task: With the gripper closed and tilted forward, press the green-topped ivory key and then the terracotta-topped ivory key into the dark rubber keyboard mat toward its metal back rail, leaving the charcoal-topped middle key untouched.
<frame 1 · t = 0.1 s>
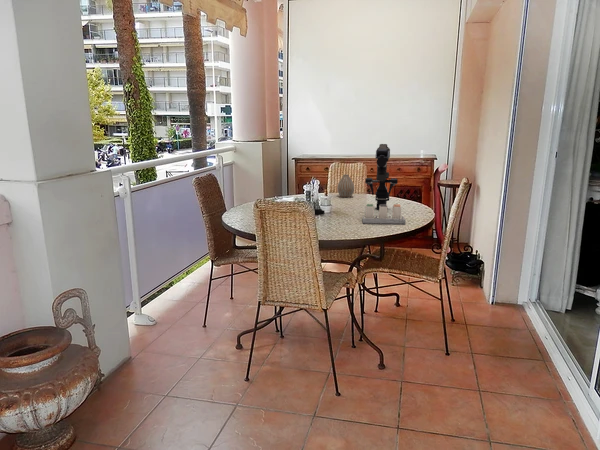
hand: (380, 195, 259), 15 cm above the table, tool pointing down, fingers open, 9 cm apart
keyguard: (383, 219, 259), on the key mat, point 1 cm above the table
toy: (299, 215, 283), on the table
key O: (396, 212, 260), point 6 cm above the table, slide at 0.0 cm
key G: (369, 211, 262), point 6 cm above the table, slide at 0.0 cm
vase: (345, 197, 343), on the table
key X: (383, 212, 261), point 6 cm above the table, slide at 0.0 cm
key mat: (383, 221, 261), on the table
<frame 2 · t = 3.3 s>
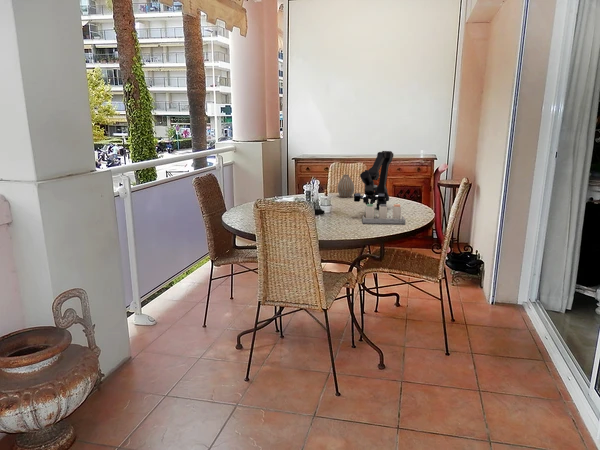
hand: (369, 209, 264), 7 cm above the table, tool tilted 45°, fingers closed, pressing on key G
key G: (369, 212, 262), point 6 cm above the table, slide at 0.3 cm, touching gripper
everything else where it was.
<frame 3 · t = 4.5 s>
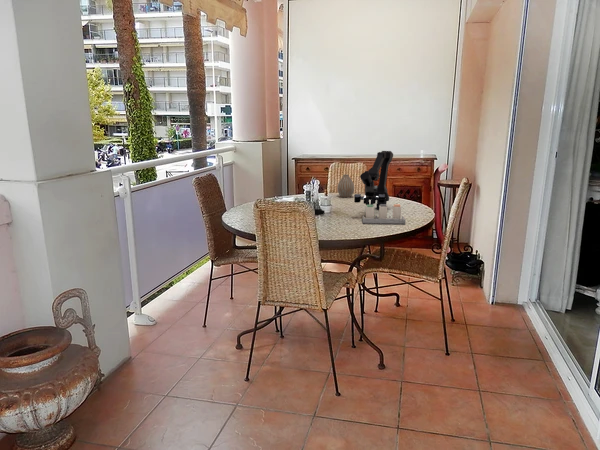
hand: (369, 209, 264), 6 cm above the table, tool tilted 45°, fingers closed
key G: (369, 212, 260), point 6 cm above the table, slide at 2.2 cm
everything else where it was.
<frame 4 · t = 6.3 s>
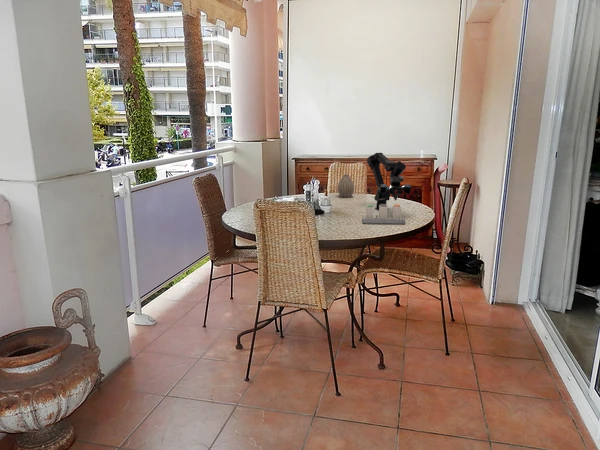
hand: (395, 199, 266), 12 cm above the table, tool tilted 45°, fingers closed
nothing on the table moved.
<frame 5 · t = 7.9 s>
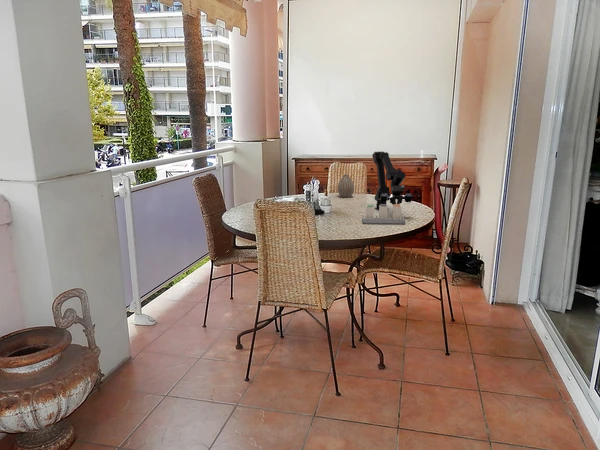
hand: (396, 209, 262), 7 cm above the table, tool tilted 45°, fingers closed, pressing on key O
key O: (396, 212, 260), point 6 cm above the table, slide at 0.2 cm, touching gripper
everything else where it was.
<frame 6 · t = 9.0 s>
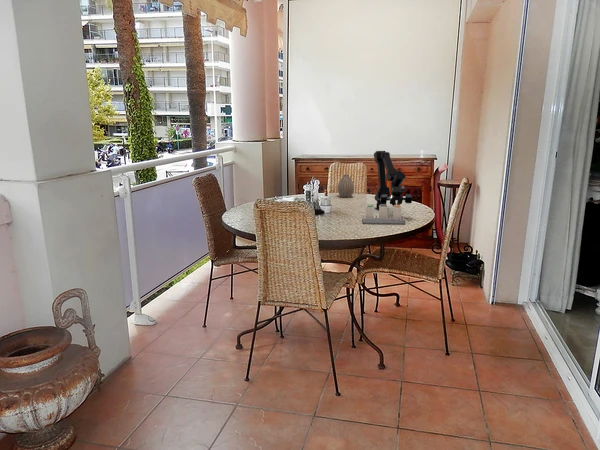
hand: (396, 210, 261), 6 cm above the table, tool tilted 45°, fingers closed
key O: (397, 213, 258), point 6 cm above the table, slide at 2.2 cm
everything else where it was.
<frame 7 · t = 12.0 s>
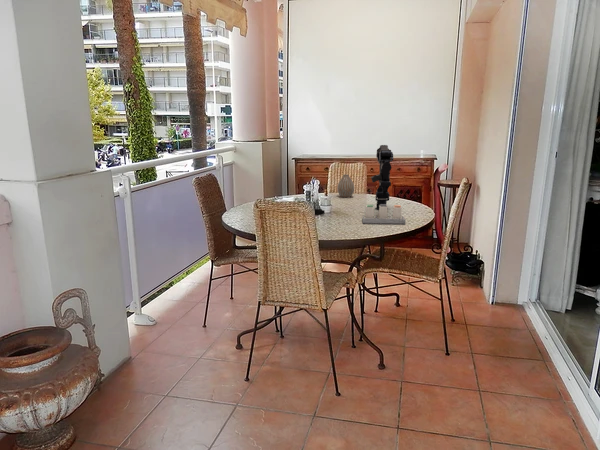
hand: (384, 195, 274), 13 cm above the table, tool pointing down, fingers closed
nothing on the table moved.
at the end: key G slide at 2.2 cm; key O slide at 2.2 cm; key X slide at 0.0 cm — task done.
